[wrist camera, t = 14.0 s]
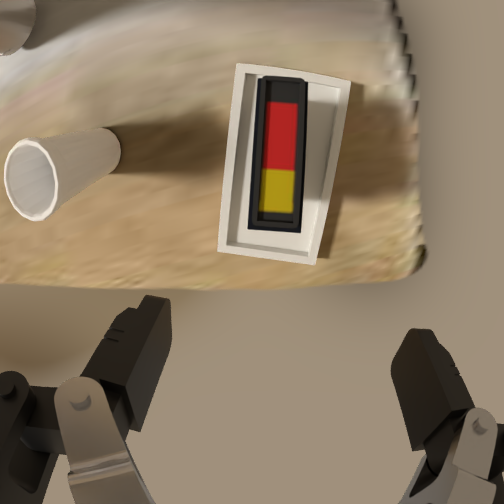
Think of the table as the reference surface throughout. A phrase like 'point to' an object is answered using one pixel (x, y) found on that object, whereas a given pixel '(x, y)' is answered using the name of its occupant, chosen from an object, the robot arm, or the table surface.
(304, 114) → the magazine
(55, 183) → the cup
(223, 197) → the cradle
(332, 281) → the table surface
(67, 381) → the robot arm
